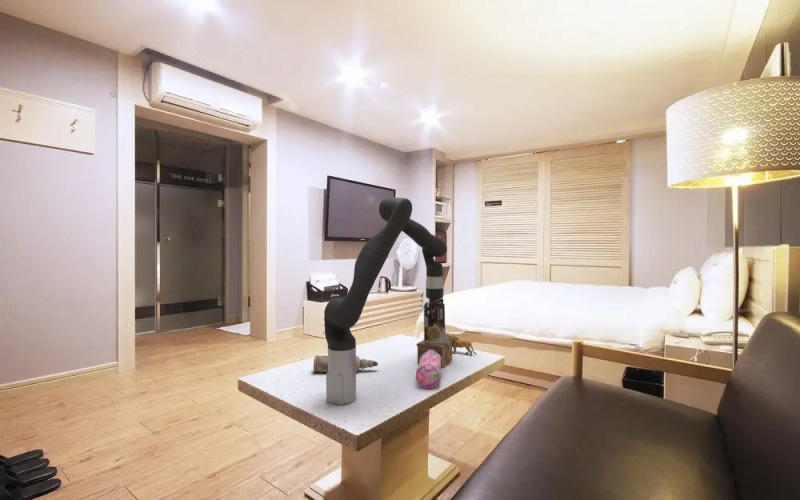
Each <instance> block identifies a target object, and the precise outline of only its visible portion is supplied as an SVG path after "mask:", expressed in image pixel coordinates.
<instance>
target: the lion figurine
mask: <svg viewBox="0 0 800 500" xmlns="http://www.w3.org/2000/svg"><path fill="white" fill-rule="evenodd" d="M445 337H446V339H447V340H453V342H452V355H456V354H457V348H459V349H462V348H465V349H466V352H465V355H467V354H469V357H472V356H473V355H477V352H475V351H474V349H473V344H472V343H471V341H470V340H467V339H462V340H461V339H460V338H458V337H457V336H455V335H454V334H451V333H447V334H445Z"/></svg>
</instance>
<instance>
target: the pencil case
mask: <svg viewBox="0 0 800 500" xmlns="http://www.w3.org/2000/svg"><path fill="white" fill-rule="evenodd" d="M441 370H442V369H441V357H440V355H439V354H438V353H437V352H434V350H429V351H427V352H425V353H424V354H423V355H422V356H421V358H420V363H419V365H418V364H417V367H416V370H415V379H416V382H417V384H418V386H420V387H421V388H422V389H431V388H433V387H436V386H437V385H438V384H439V382H440V379H441V376H442V375H441V374H442V372H441Z"/></svg>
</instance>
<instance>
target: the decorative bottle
mask: <svg viewBox="0 0 800 500" xmlns="http://www.w3.org/2000/svg"><path fill="white" fill-rule="evenodd" d="M378 365H379V363H378V361H375V360H373V359H370V360H369V359H364V358H363V359H362V358H361V359H360V357H359V356H358V355H356V373H358V372H359V371H362V370H364V369H367V368H374V367H378ZM312 367H313V373H327V372H328V355H315V356H314V359H313V366H312Z"/></svg>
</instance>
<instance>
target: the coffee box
mask: <svg viewBox="0 0 800 500" xmlns="http://www.w3.org/2000/svg"><path fill="white" fill-rule="evenodd" d="M445 305H446V304H445V303H444V304H440V305H438V306H434V308H435V307H436V313H434V316H433V327H430V326H428V317H426V316H425V303H424V304H423V309H422V310H423V337H424V338H423V340H424V343H425V344H445V342H446V306H445ZM434 308H433V307H432V310H434ZM427 314H428V311H427Z"/></svg>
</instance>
